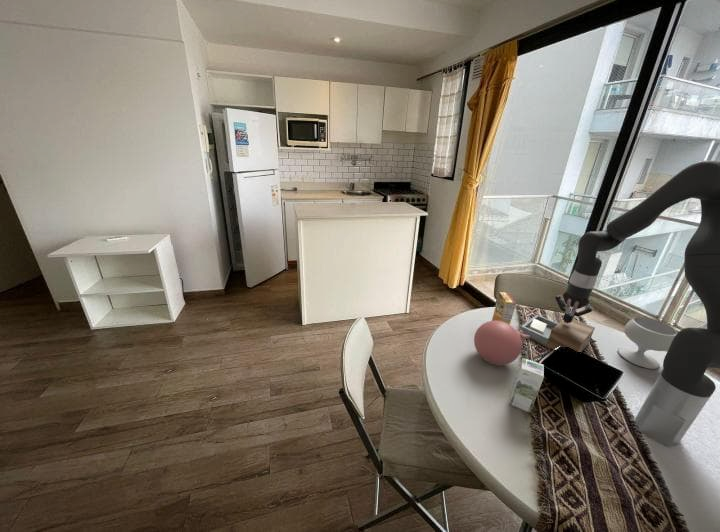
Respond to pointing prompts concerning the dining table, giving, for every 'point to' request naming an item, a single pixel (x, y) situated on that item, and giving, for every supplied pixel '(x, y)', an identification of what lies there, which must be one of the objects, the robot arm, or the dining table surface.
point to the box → (535, 335)
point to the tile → (538, 326)
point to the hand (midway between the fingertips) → (566, 322)
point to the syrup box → (527, 384)
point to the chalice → (646, 340)
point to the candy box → (504, 308)
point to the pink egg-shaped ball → (499, 342)
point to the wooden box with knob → (570, 335)
